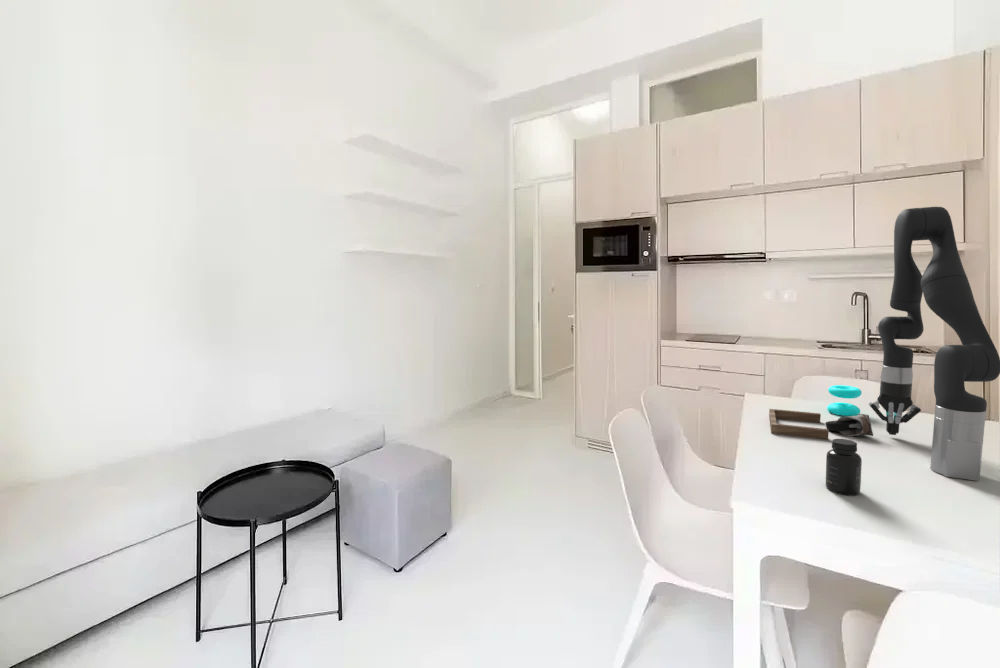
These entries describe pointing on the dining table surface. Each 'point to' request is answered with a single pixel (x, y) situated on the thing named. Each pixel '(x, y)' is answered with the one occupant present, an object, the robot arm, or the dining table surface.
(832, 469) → the supplement bottle
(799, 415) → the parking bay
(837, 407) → the donuts
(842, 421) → the caster wheel
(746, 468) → the dining table surface
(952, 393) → the robot arm
